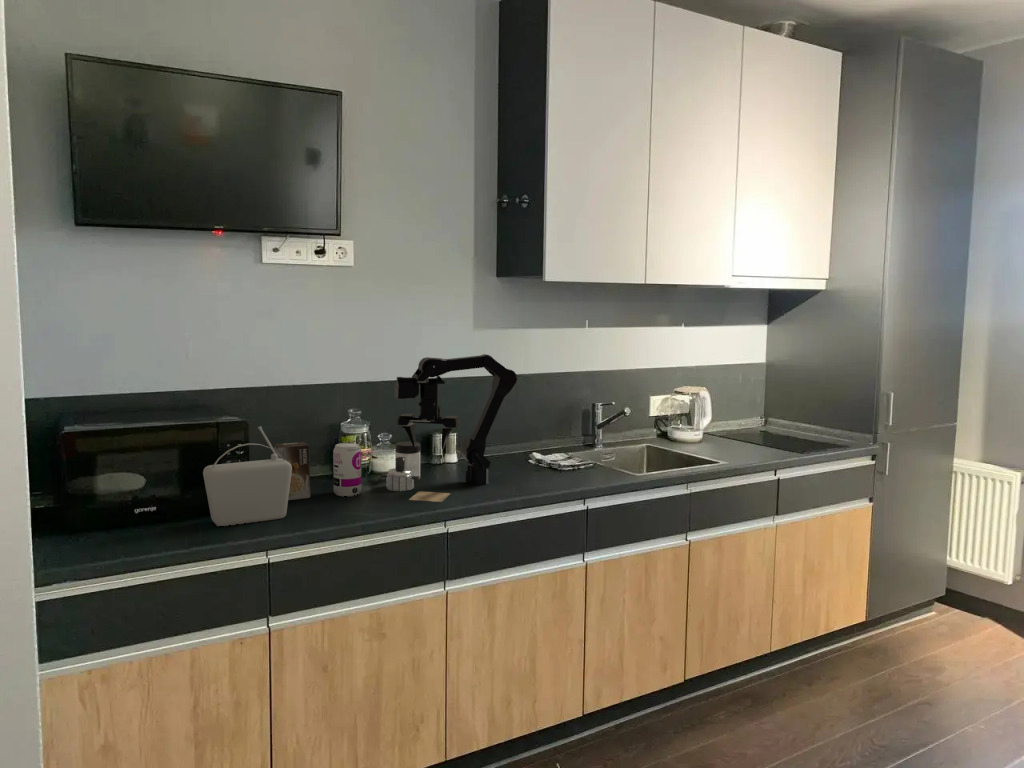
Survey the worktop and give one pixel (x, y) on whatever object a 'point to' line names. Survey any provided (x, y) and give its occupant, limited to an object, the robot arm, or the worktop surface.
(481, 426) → the robot arm
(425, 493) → the plate
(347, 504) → the worktop surface
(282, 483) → the radio
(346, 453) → the supplement can
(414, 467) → the jar
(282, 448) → the coffee box
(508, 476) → the worktop surface
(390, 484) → the pot
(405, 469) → the lid
